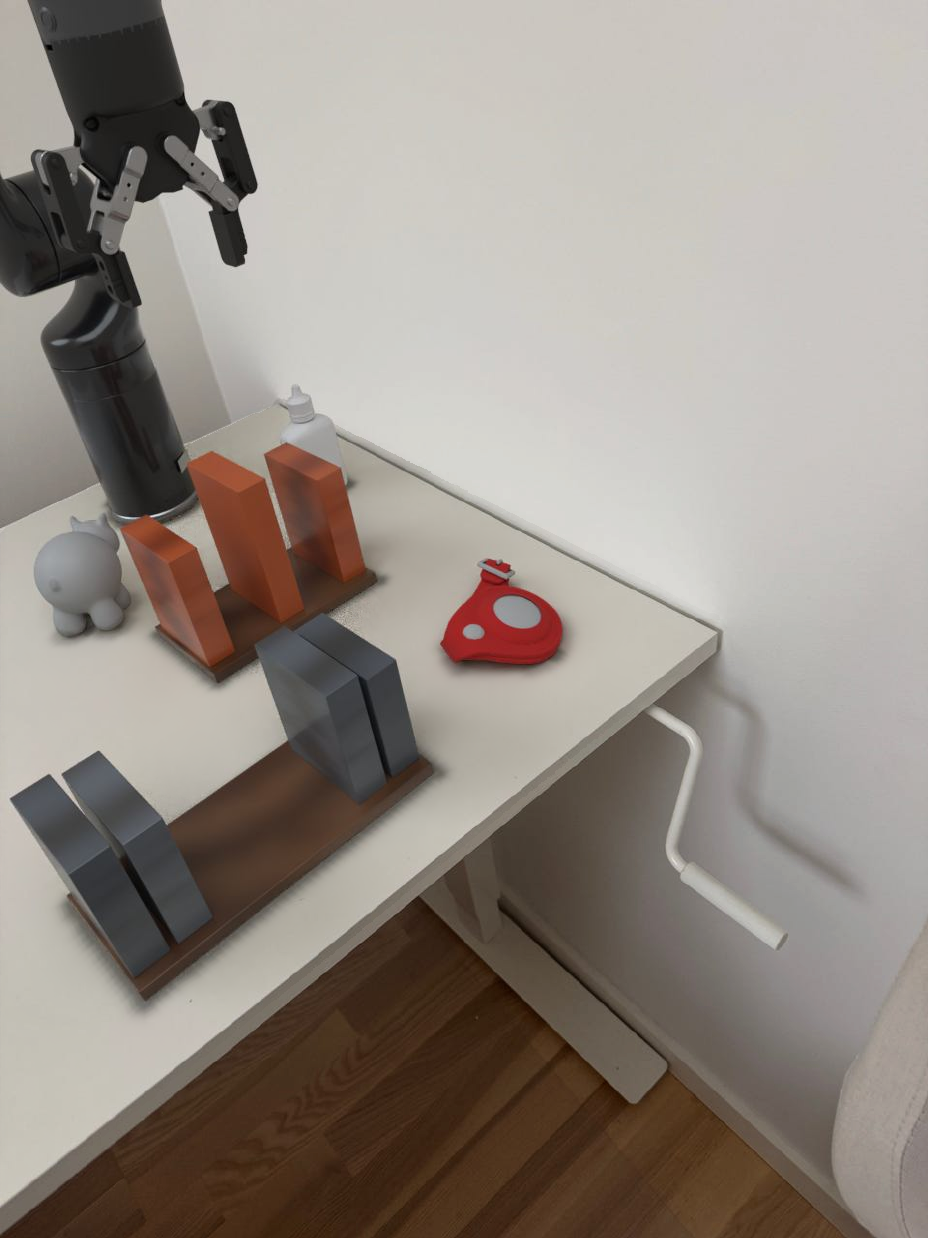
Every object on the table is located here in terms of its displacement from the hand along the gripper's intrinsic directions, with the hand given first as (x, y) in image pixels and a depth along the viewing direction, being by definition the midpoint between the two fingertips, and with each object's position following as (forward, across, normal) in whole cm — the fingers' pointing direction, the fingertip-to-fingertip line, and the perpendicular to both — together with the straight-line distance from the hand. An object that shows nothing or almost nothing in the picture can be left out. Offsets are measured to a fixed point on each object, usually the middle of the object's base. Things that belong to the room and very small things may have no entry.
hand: (184, 284), depth 68 cm
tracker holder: (+28, -9, +19) cm, 36 cm away
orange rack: (+28, +2, 0) cm, 28 cm away
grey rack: (+28, +17, +22) cm, 39 cm away
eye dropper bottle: (+28, -13, -12) cm, 34 cm away
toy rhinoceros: (+29, +11, -14) cm, 33 cm away
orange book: (+27, +2, 0) cm, 27 cm away
